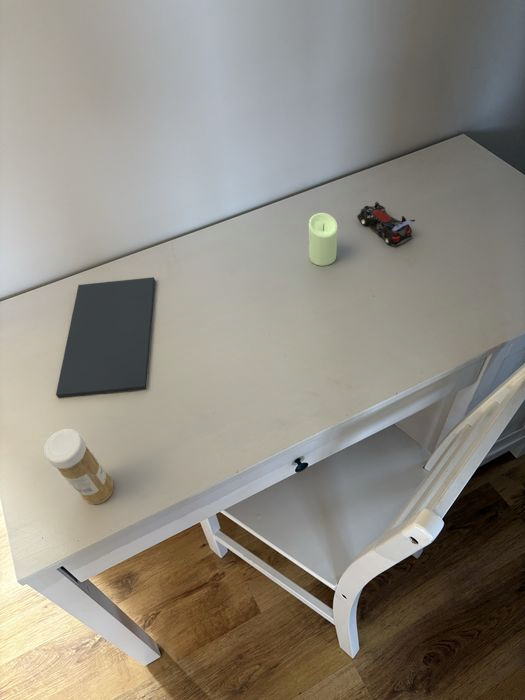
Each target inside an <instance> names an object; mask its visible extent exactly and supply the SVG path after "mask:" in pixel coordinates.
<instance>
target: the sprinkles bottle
mask: <svg viewBox="0 0 525 700" xmlns="http://www.w3.org/2000/svg"><path fill="white" fill-rule="evenodd" d="M43 454H44V457H45V458H46V460H47V461H48V462H49V464H51V466H53V467H54V468H56V469H57V470H58V471H59V472H60V474H61V476H62V477H63V478H64V479H65V480H66V481H67V482H68V483H69V485H70V486H72V488H73V489H74V490H75V491H76V492H77V493H79V495H80V496H81V497H82V500H83V501H85V502H86V503H87V504H90V505H100V504H102V503H104V502H105V501H107V500H109V498H110V497H111V495H112V494H113V491H114V480H113V479H112V477H111V476H110V475H109V474H108V473H107V471H106V470H105V468H104V467H103V466H102V465H101V464H100V462H99V460H98V459H97V458H96V457H95V455H94V454H93V453H92V451H90V449H89V448H88V447H87V445H86V442H85V439H84V438H83V437H82V436H81V434H80V433H79V432H78V431H77V430H75V429H71V428H63V429H60V430H57V431H55V432H54V433H52V434H51V435H50V436H49V437H48V438H47V440H46V441H45V444H44V446H43Z"/></svg>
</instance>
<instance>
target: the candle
mask: <svg viewBox="0 0 525 700" xmlns="http://www.w3.org/2000/svg"><path fill="white" fill-rule="evenodd" d="M338 228H339V226H338V222H337V221H336V218H334V217H333V216H332V215H331V214H328V213H326V212H318V213H315V214H313V215H312V216H311V217H310V218H309V220H308V259H309V260H310V262H311V263H313V264H314V265H316V266H323V267H324V266H328V265H329V266H330V265H331V264H333V263H334V262H335V261H336V260H337V252H338Z"/></svg>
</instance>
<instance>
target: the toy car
mask: <svg viewBox="0 0 525 700" xmlns="http://www.w3.org/2000/svg"><path fill="white" fill-rule="evenodd" d="M356 217H357V220H358V221H360V224H361V225H362V226H368V227H369V229H370V230H372V231H373V232H374V233H375V234H376V235H377V236H379V237H381V238H382V239H383V240H384V242H385V244H386V245H388V246H389V245H390V246H393V247H394V248H396V247H398V246H401V245H402V244H405V243H407V242H408V241H409V240H410V239H413V235H412V232H413V230H412V227H411V226H410V224H411V223H413V222H415V221H416V219H409V220H407V218H406V217H405V216H404V215H402V216H401V220H398V219H396V218H394V217H393V216H391V215H389V214H388V213H387V210H386V207H385V206H384V205H381V204H380V203H379V202H378V201H375V202H374V206H369V205H365V206H363V208H361V209H360V213H358V214H357V216H356Z"/></svg>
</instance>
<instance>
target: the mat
mask: <svg viewBox="0 0 525 700" xmlns="http://www.w3.org/2000/svg"><path fill="white" fill-rule="evenodd" d="M77 285H78V286H77V291H76V296H75V300H74V304H73V309H72V315H71V319H70V324H69V329H68V333H67V334H68V335H67V339H66V344H65V348H64V352H63V353H64V354H63V358H62V364H61V368H60V373H59V378H58V382H57V387H56V392H55V396H56V397H57V398H58V399H63V398H73V397H74V398H75V397H83V396H84V397H85V396H94V395H105V394H114V393H115V394H117V393H125V392H136V391H144V390H145V391H147V384H148V372H149V360H150V347H151V339H152V336H151V335H152V325H153V314H154V313H153V312H154V299H155V290H156V288H155V287H156V279H155V277H154V276H152V277H143V278H132V279H122V280H112V281H101V282H93V283H85V284H84V283H83V284H77Z"/></svg>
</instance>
